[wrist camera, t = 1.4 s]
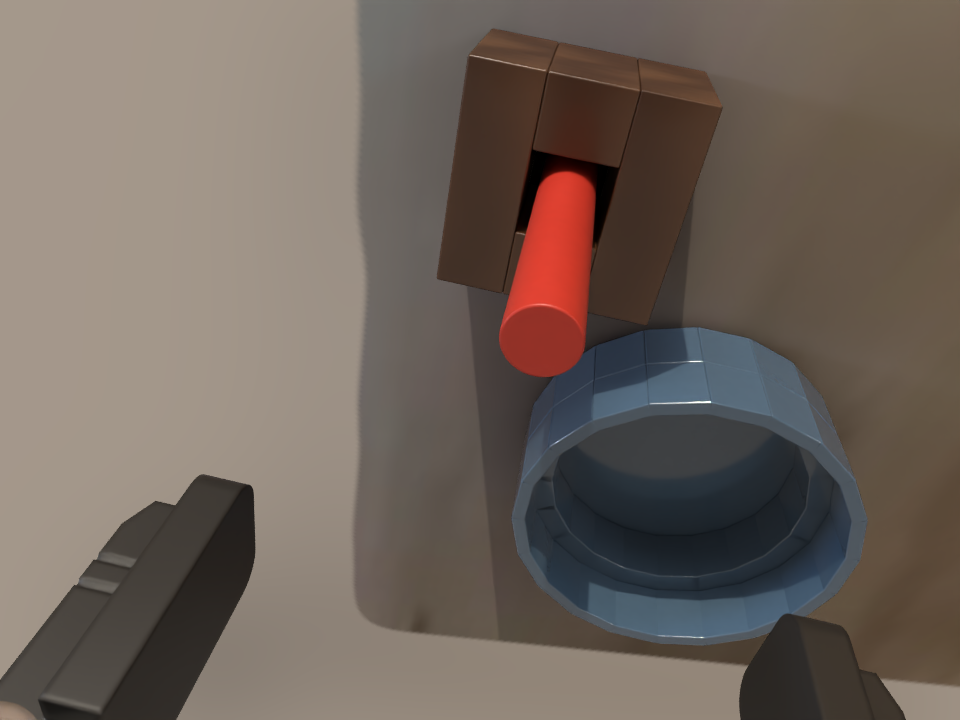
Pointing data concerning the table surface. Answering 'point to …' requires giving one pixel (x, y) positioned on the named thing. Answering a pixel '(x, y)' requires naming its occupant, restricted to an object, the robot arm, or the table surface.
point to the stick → (553, 273)
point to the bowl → (686, 490)
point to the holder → (583, 136)
